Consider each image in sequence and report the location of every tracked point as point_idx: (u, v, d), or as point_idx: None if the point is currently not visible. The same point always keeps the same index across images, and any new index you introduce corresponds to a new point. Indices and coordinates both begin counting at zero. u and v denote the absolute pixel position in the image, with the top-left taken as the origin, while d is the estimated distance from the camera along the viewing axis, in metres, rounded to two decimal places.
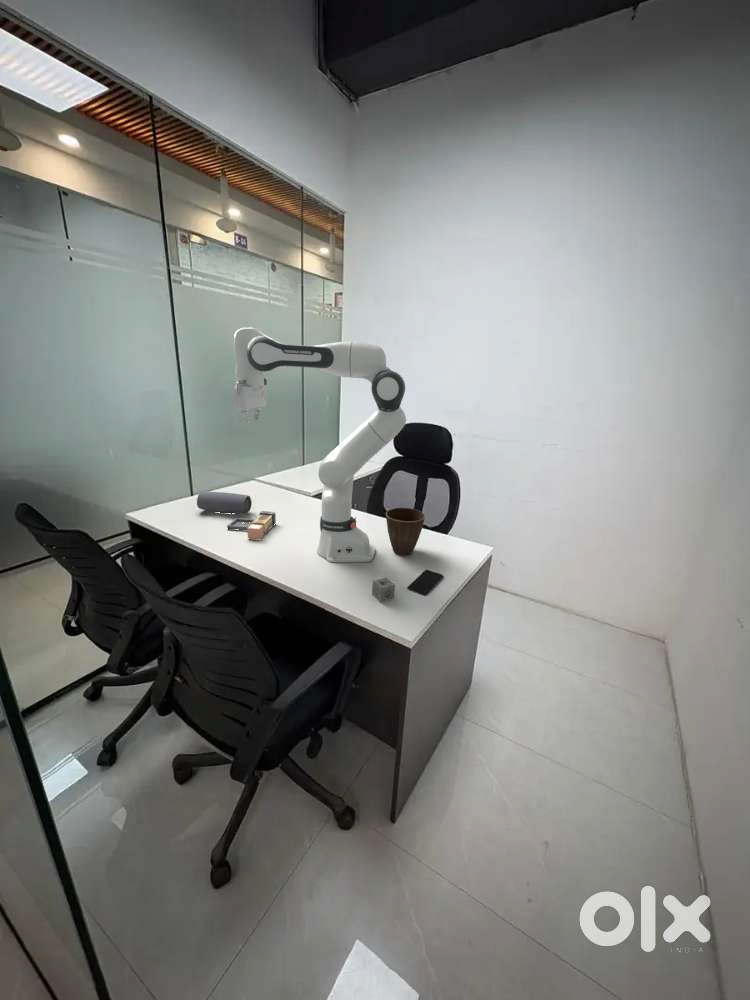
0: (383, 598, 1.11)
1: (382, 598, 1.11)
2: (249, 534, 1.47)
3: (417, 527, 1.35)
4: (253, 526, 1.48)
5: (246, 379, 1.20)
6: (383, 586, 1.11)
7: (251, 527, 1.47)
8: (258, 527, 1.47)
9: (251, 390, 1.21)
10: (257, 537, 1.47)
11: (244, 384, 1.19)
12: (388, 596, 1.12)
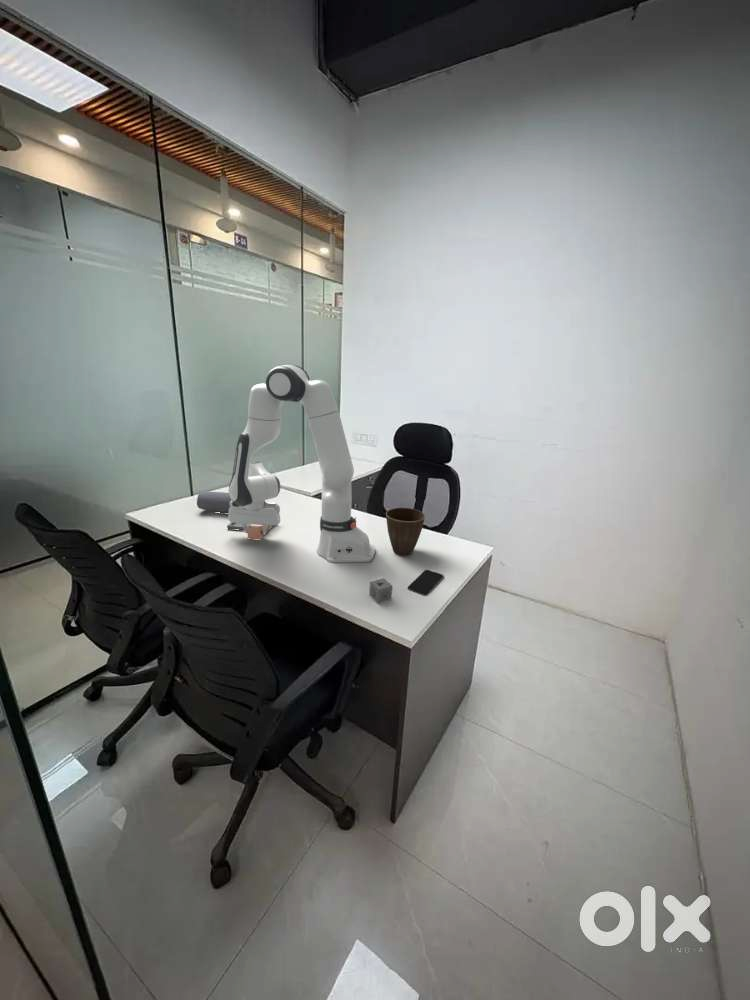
0: (380, 599, 1.11)
1: (379, 599, 1.11)
2: (249, 534, 1.47)
3: (417, 527, 1.35)
4: (253, 526, 1.48)
5: None
6: (380, 587, 1.10)
7: (251, 527, 1.47)
8: (258, 526, 1.47)
9: None
10: (257, 537, 1.47)
11: None
12: (385, 597, 1.12)
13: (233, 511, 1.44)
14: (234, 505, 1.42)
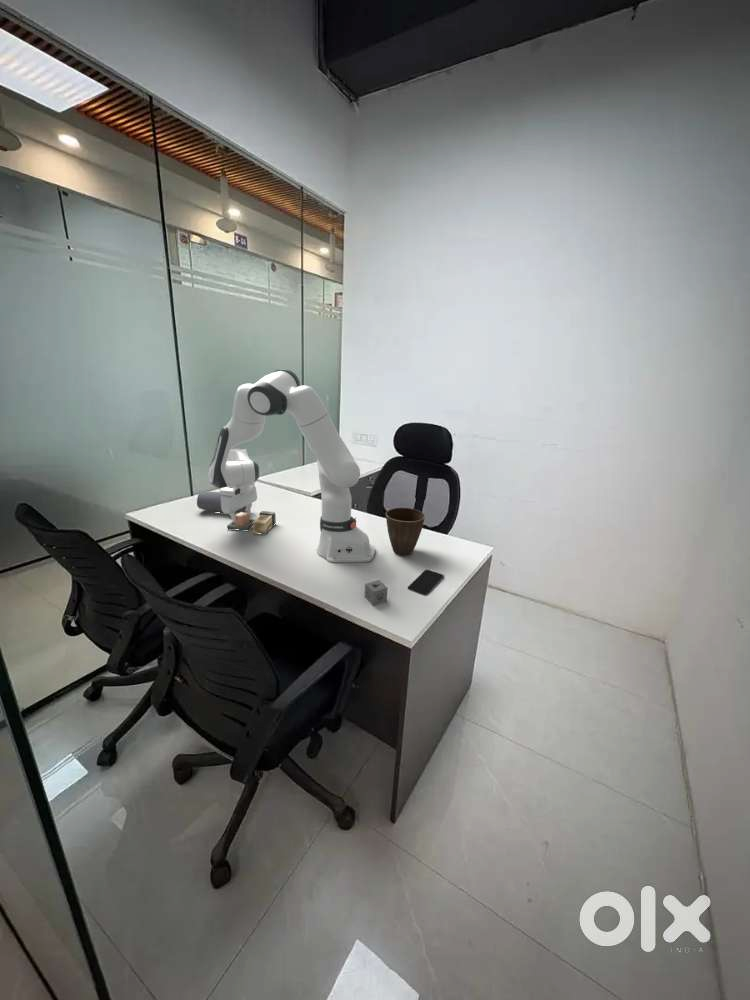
0: (375, 601, 1.10)
1: (374, 601, 1.09)
2: (243, 522, 1.56)
3: (417, 527, 1.35)
4: (240, 514, 1.57)
5: None
6: (375, 589, 1.09)
7: (242, 515, 1.56)
8: (244, 513, 1.59)
9: None
10: (248, 522, 1.60)
11: None
12: (380, 599, 1.10)
13: (232, 501, 1.47)
14: (236, 493, 1.47)
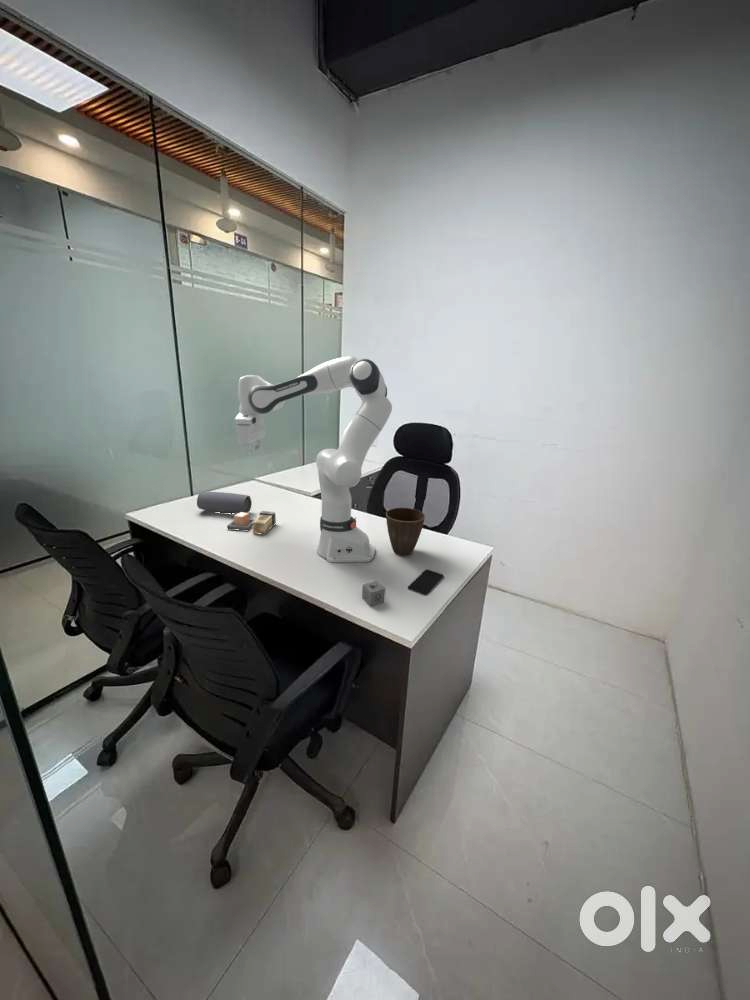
0: (373, 602, 1.09)
1: (372, 602, 1.09)
2: (243, 522, 1.56)
3: (417, 527, 1.35)
4: (240, 514, 1.57)
5: None
6: (373, 590, 1.09)
7: (242, 515, 1.56)
8: (244, 513, 1.59)
9: None
10: (248, 522, 1.60)
11: None
12: (378, 600, 1.10)
13: (249, 431, 1.40)
14: (253, 422, 1.40)
